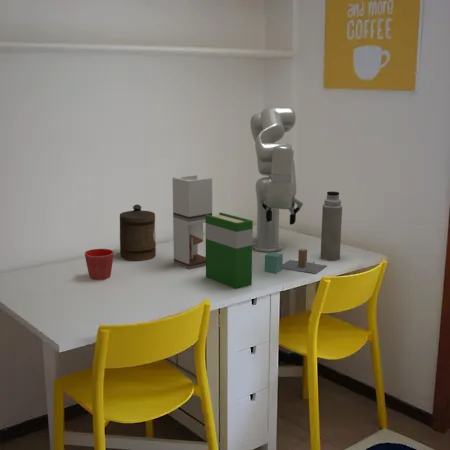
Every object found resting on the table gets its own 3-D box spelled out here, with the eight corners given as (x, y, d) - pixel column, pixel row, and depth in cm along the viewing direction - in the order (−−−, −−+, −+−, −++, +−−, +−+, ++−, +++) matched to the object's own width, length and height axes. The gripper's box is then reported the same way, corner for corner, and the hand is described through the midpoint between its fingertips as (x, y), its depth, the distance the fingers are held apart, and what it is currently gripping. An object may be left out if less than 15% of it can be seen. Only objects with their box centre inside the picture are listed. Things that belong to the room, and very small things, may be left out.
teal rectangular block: (264, 271, 244) (264, 255, 243) (270, 267, 249) (270, 251, 247) (276, 273, 242) (277, 256, 240) (282, 269, 246) (282, 253, 245)
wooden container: (163, 255, 265) (162, 204, 260) (136, 263, 254) (134, 210, 249) (140, 249, 275) (138, 200, 270) (113, 256, 264) (111, 205, 259)
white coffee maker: (189, 269, 246) (188, 181, 238) (173, 263, 254) (172, 177, 246) (212, 264, 253) (212, 178, 245) (196, 258, 261) (195, 174, 253)
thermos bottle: (320, 255, 267) (322, 190, 261) (339, 255, 266) (342, 190, 260) (320, 260, 259) (323, 193, 253) (340, 260, 259) (343, 193, 252)
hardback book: (205, 277, 237) (205, 215, 231) (220, 273, 241) (221, 212, 236) (236, 289, 224) (236, 223, 218) (251, 285, 228) (252, 220, 223)
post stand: (277, 268, 249) (278, 250, 247) (289, 260, 259) (290, 243, 257) (315, 274, 241) (316, 256, 239) (326, 266, 251) (327, 249, 250)
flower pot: (120, 275, 239) (119, 250, 236) (101, 283, 229) (100, 257, 227) (99, 271, 244) (98, 246, 242) (79, 278, 235) (78, 253, 232)
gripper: (256, 177, 238) (256, 221, 242) (298, 181, 230) (297, 227, 234) (265, 175, 245) (264, 218, 249) (306, 178, 236) (305, 223, 240)
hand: (280, 222), depth 241 cm, fingers open, 9 cm apart
